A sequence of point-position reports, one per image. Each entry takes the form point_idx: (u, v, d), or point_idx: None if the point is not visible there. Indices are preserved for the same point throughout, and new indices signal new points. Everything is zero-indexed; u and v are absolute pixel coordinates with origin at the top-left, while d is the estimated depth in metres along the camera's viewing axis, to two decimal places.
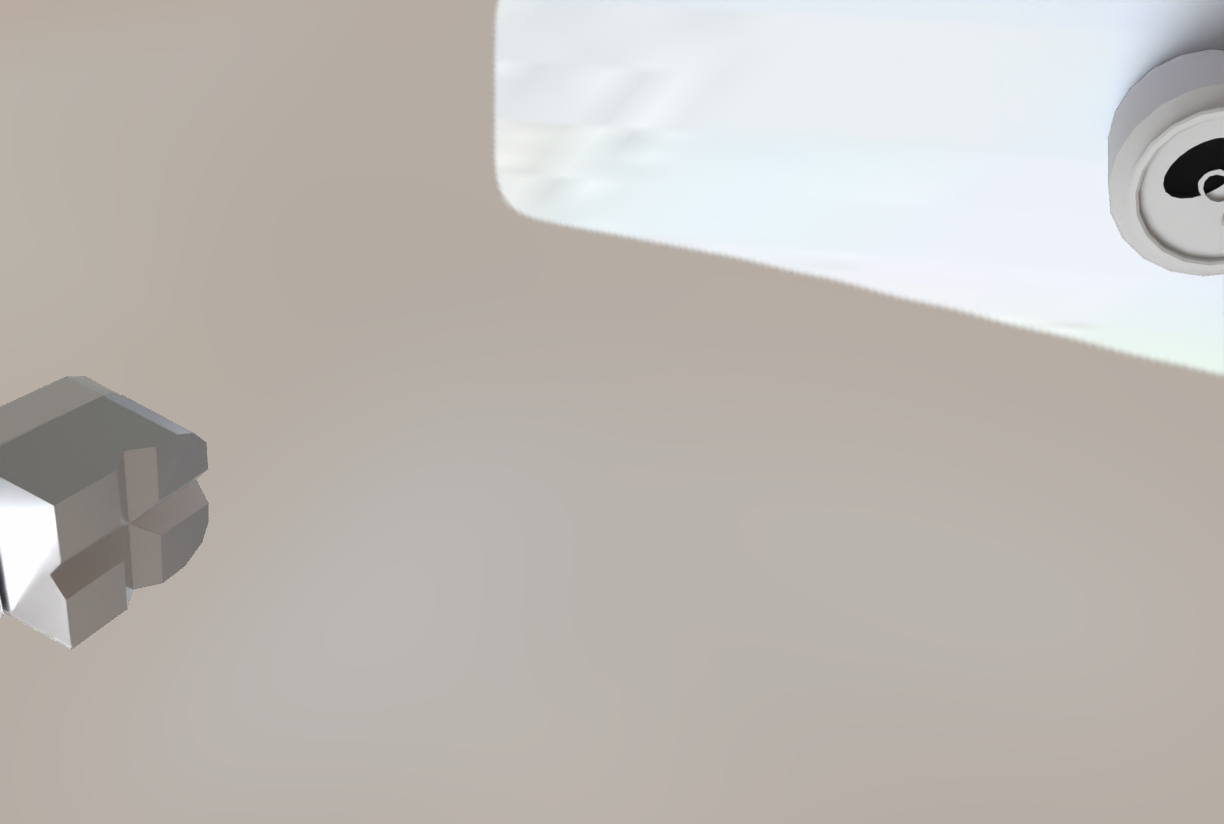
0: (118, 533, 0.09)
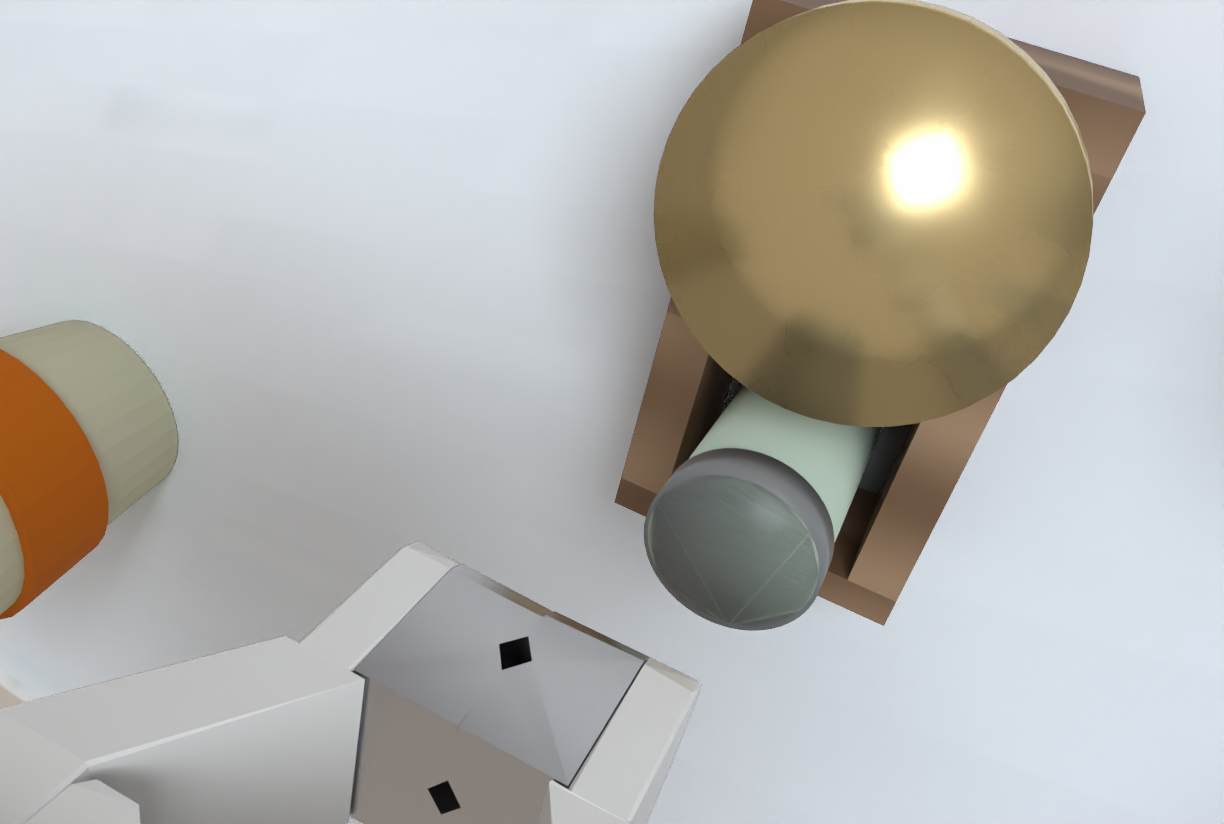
0: None
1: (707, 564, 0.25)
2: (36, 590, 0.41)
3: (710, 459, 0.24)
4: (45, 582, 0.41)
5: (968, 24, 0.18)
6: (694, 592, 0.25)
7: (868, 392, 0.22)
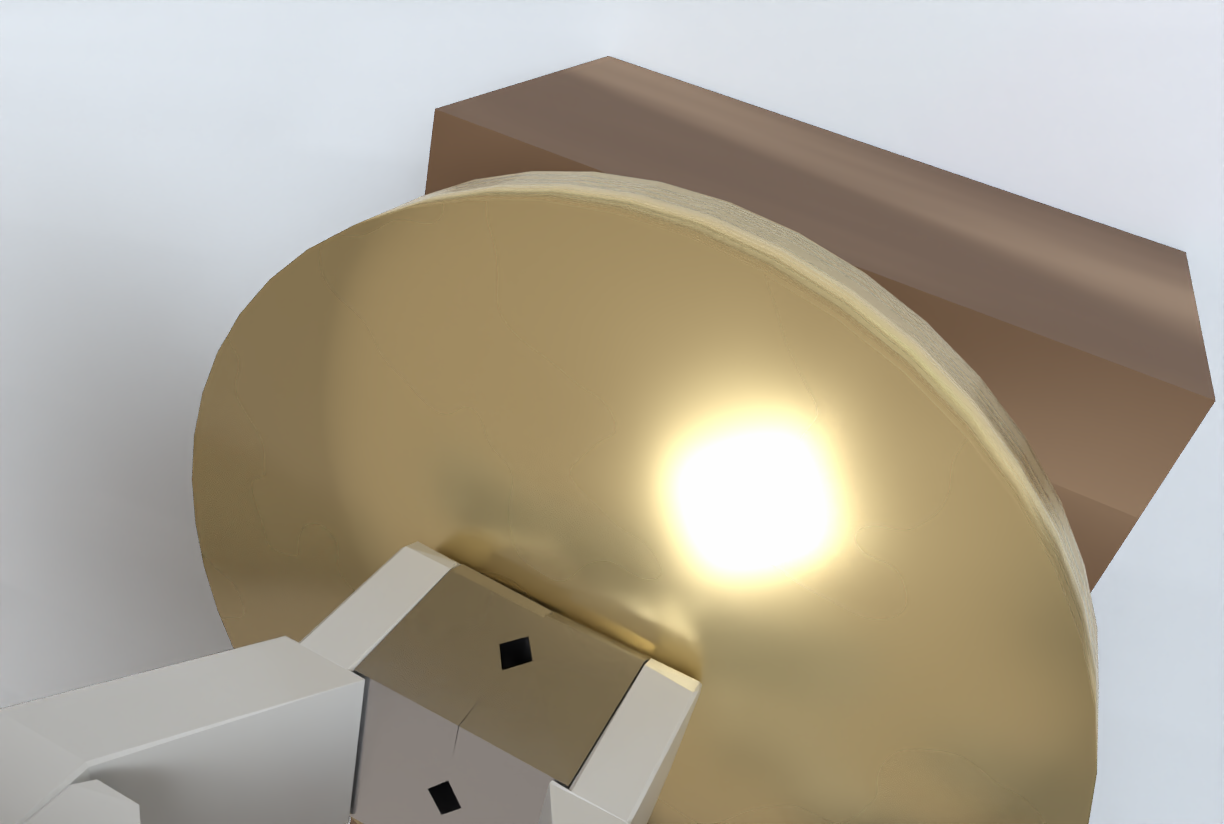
0: None
1: None
2: None
3: None
4: None
5: (765, 276, 0.07)
6: None
7: None
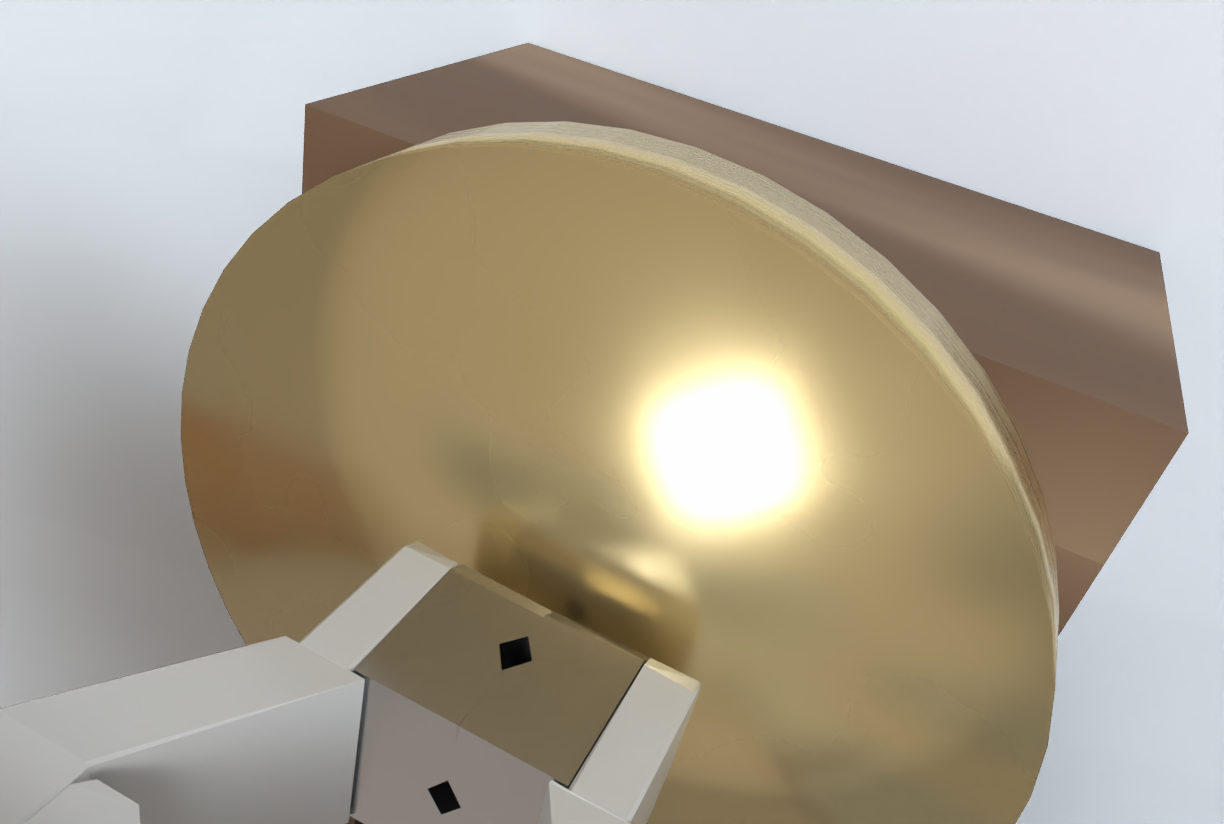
0: None
1: None
2: None
3: None
4: None
5: (728, 212, 0.07)
6: None
7: None
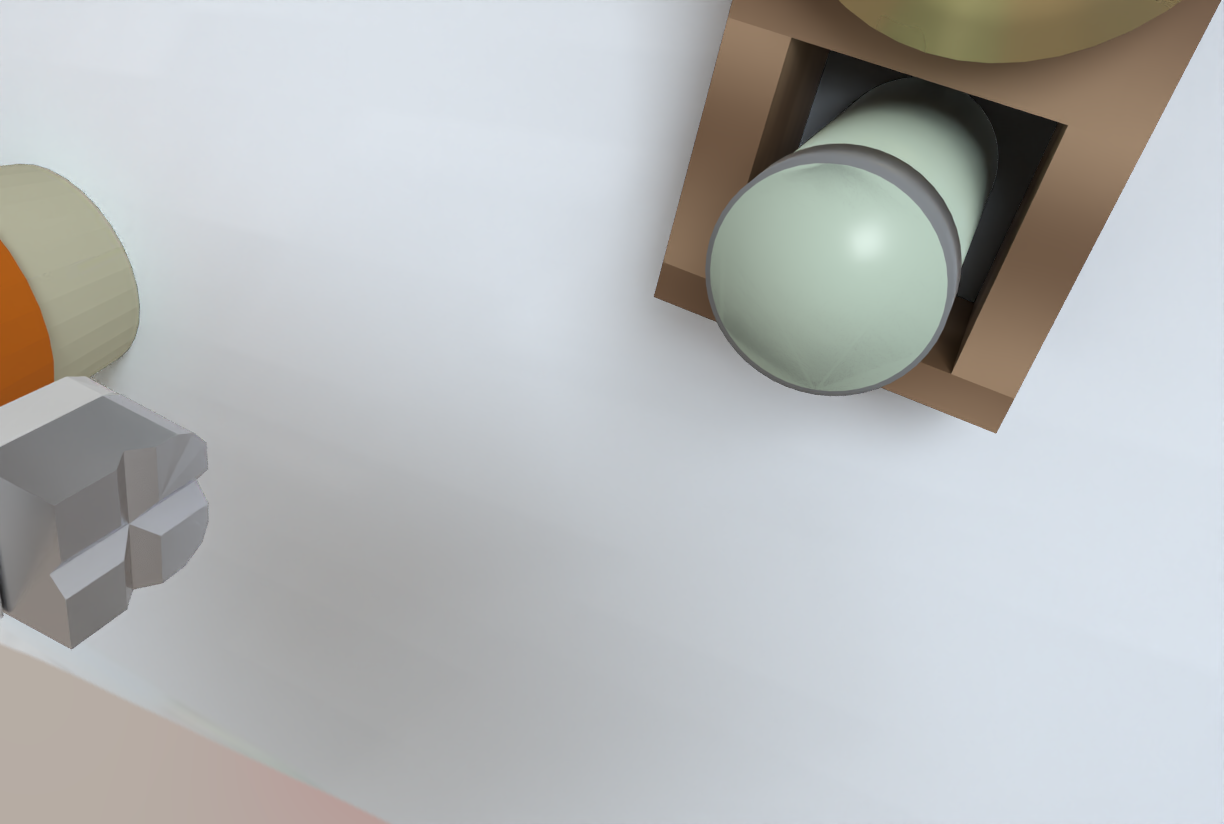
0: (118, 533, 0.09)
1: (790, 303, 0.19)
2: None
3: (797, 155, 0.18)
4: None
5: None
6: (771, 348, 0.19)
7: (1034, 10, 0.18)
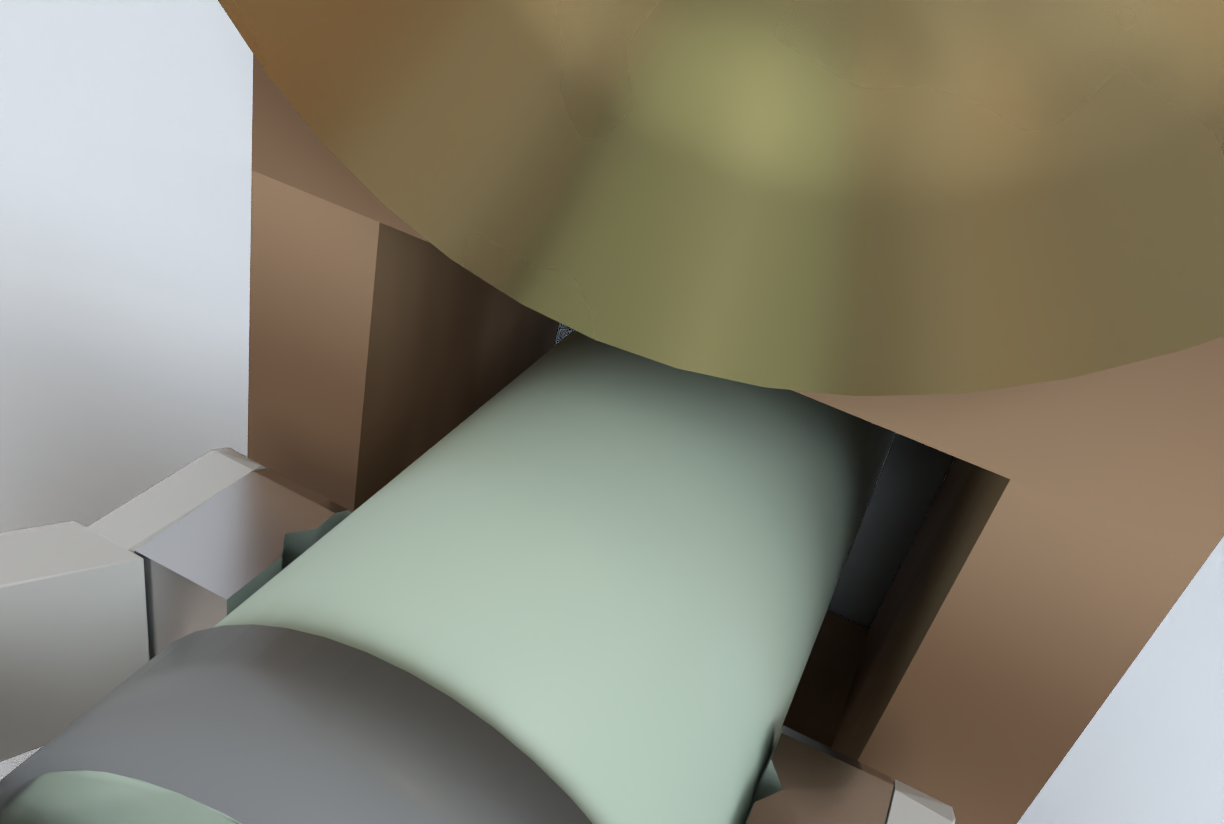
0: None
1: None
2: None
3: (169, 680, 0.06)
4: None
5: None
6: None
7: (878, 257, 0.06)
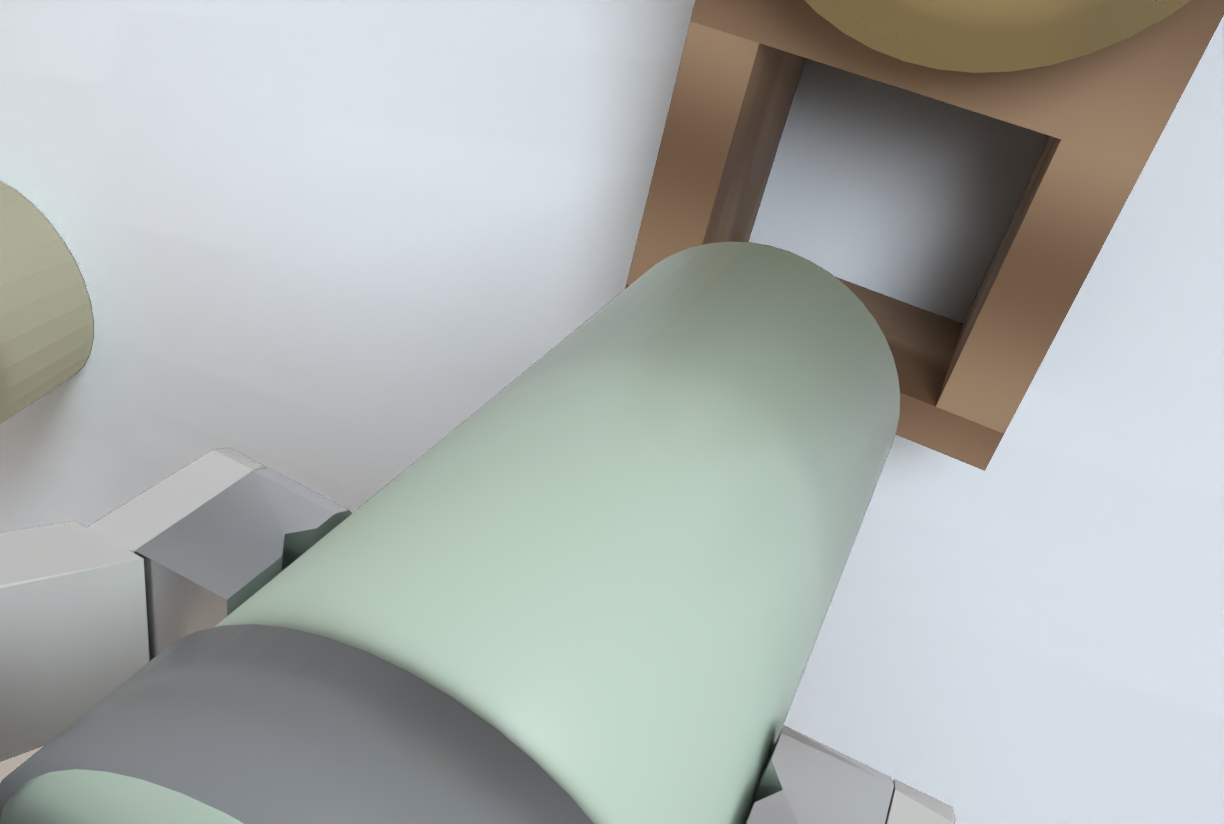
0: None
1: None
2: None
3: (170, 679, 0.06)
4: None
5: None
6: None
7: (1022, 14, 0.16)
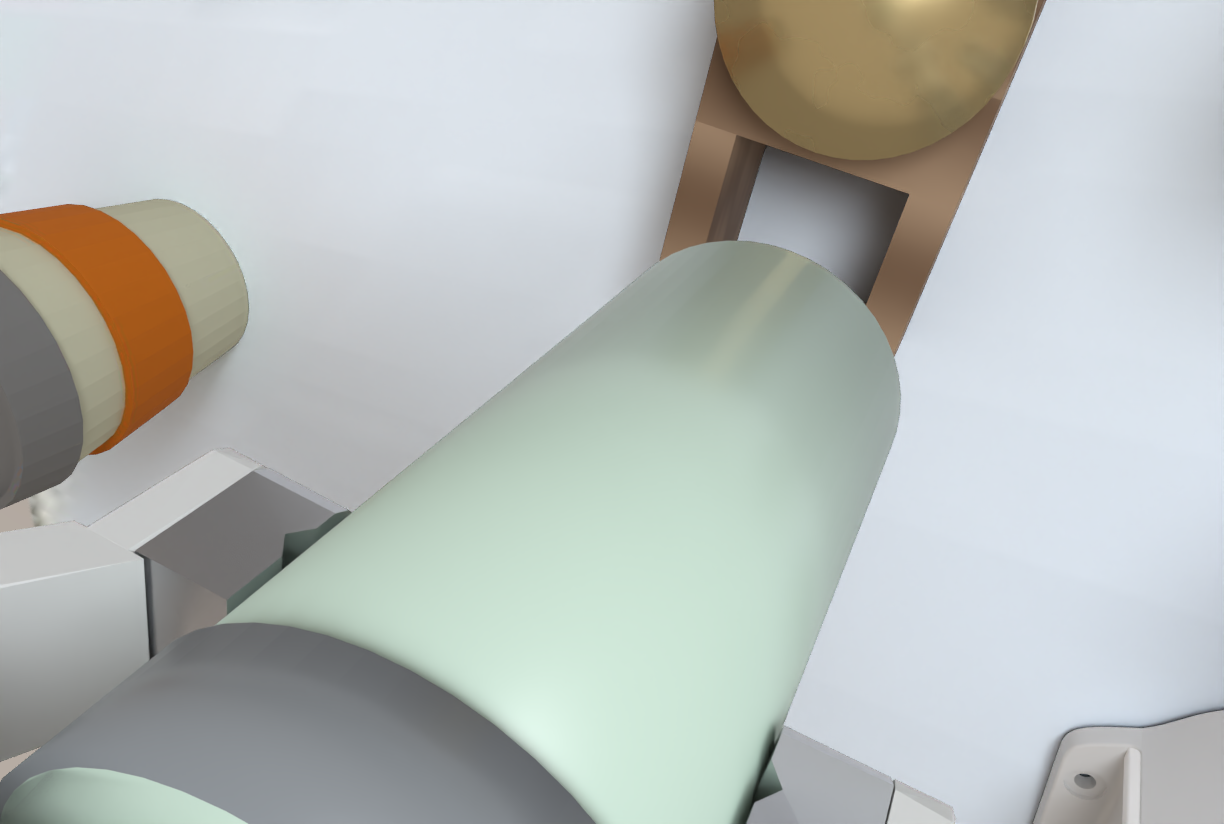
0: None
1: None
2: (133, 422, 0.47)
3: (170, 678, 0.06)
4: (140, 416, 0.47)
5: None
6: None
7: (876, 130, 0.29)
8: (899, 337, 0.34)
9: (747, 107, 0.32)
